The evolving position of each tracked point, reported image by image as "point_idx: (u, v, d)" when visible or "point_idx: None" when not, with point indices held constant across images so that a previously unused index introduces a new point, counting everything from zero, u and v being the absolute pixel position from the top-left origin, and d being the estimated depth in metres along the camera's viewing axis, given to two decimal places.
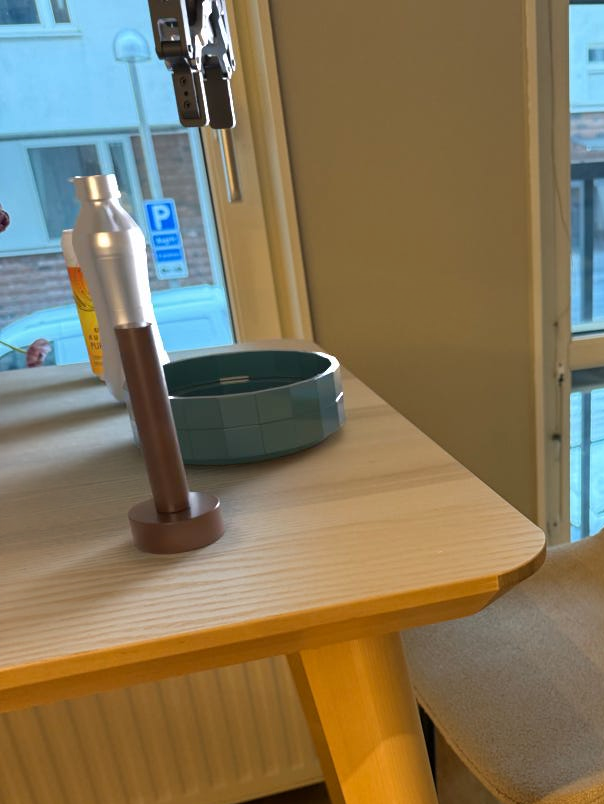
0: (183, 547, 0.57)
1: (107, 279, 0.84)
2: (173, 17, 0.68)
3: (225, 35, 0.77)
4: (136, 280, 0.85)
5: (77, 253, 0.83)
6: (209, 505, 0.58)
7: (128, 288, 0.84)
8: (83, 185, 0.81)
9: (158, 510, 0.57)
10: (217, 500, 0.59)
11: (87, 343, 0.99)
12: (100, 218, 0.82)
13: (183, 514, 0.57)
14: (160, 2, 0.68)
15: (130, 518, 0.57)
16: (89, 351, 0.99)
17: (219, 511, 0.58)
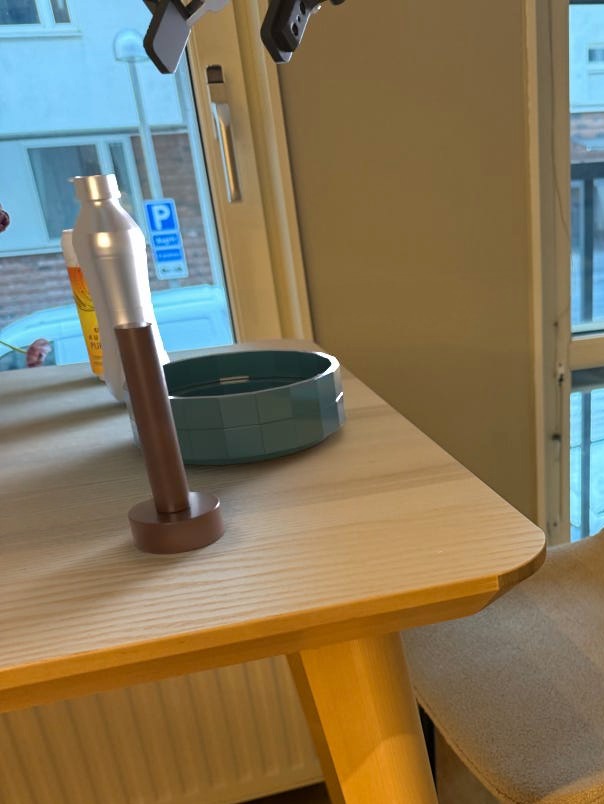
0: (183, 547, 0.57)
1: (107, 279, 0.84)
2: None
3: None
4: (136, 280, 0.85)
5: (77, 253, 0.83)
6: (209, 505, 0.58)
7: (128, 288, 0.84)
8: (83, 185, 0.81)
9: (158, 510, 0.57)
10: (217, 500, 0.59)
11: (87, 343, 0.99)
12: (100, 218, 0.82)
13: (183, 514, 0.57)
14: None
15: (130, 518, 0.57)
16: (89, 351, 0.99)
17: (219, 511, 0.58)
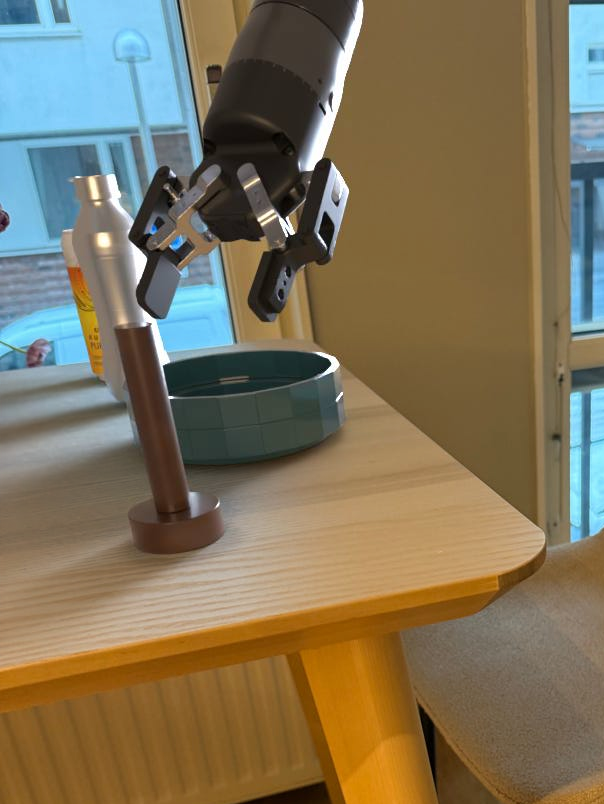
0: (183, 547, 0.57)
1: (107, 279, 0.84)
2: (333, 222, 0.58)
3: None
4: (136, 280, 0.85)
5: (77, 253, 0.83)
6: (209, 505, 0.58)
7: (128, 288, 0.84)
8: (83, 185, 0.81)
9: (158, 510, 0.57)
10: (217, 500, 0.59)
11: (87, 343, 0.99)
12: (100, 218, 0.82)
13: (183, 514, 0.57)
14: (331, 201, 0.57)
15: (130, 518, 0.57)
16: (89, 351, 0.99)
17: (219, 511, 0.58)
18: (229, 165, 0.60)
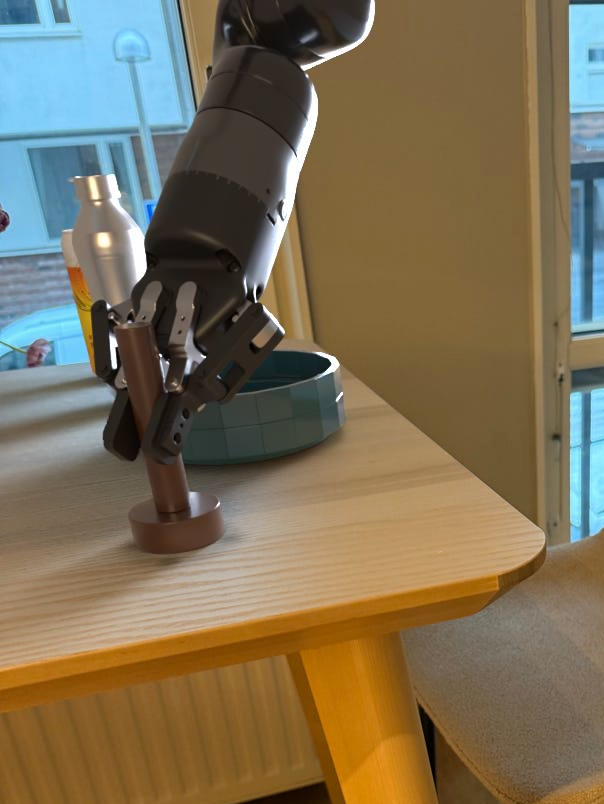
0: (183, 547, 0.57)
1: (107, 279, 0.84)
2: (244, 368, 0.55)
3: None
4: (136, 280, 0.85)
5: (77, 253, 0.83)
6: (209, 505, 0.58)
7: (128, 288, 0.84)
8: (83, 185, 0.81)
9: (158, 510, 0.57)
10: (217, 500, 0.59)
11: (87, 343, 0.99)
12: (100, 218, 0.82)
13: (183, 514, 0.57)
14: (248, 349, 0.54)
15: (130, 518, 0.57)
16: (89, 351, 0.99)
17: (219, 511, 0.58)
18: (172, 279, 0.57)
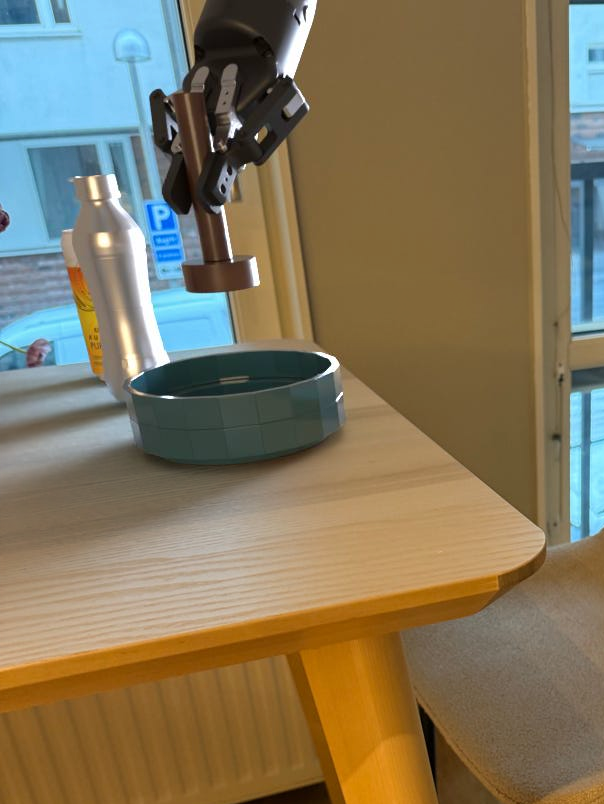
0: (226, 287, 0.69)
1: (107, 279, 0.84)
2: (276, 134, 0.67)
3: None
4: (136, 280, 0.85)
5: (77, 253, 0.83)
6: (247, 258, 0.71)
7: (128, 288, 0.84)
8: (83, 185, 0.81)
9: (205, 260, 0.70)
10: (253, 256, 0.71)
11: (87, 343, 0.99)
12: (100, 218, 0.82)
13: (226, 261, 0.69)
14: (280, 116, 0.67)
15: (183, 264, 0.69)
16: (89, 351, 0.99)
17: (255, 264, 0.71)
18: (216, 68, 0.69)
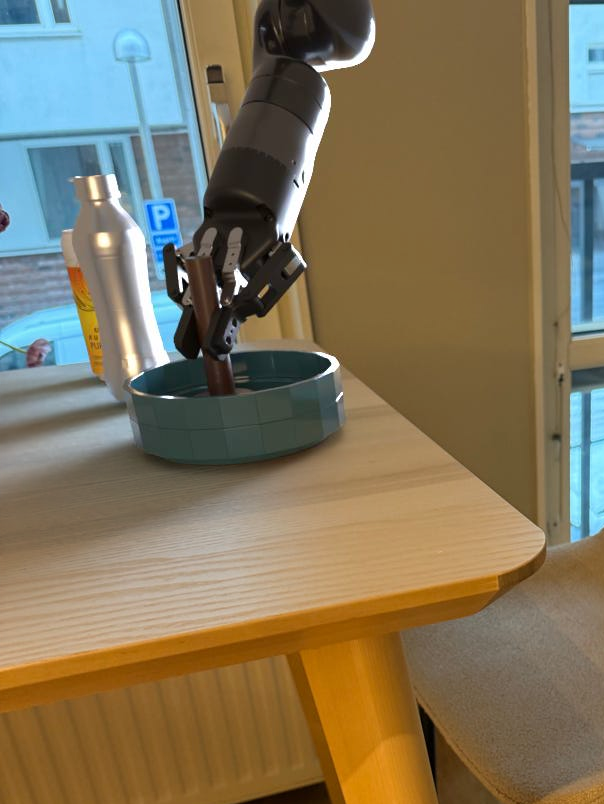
0: None
1: (107, 279, 0.84)
2: (277, 291, 0.75)
3: None
4: (136, 280, 0.85)
5: (77, 253, 0.83)
6: None
7: (128, 288, 0.84)
8: (83, 185, 0.81)
9: None
10: None
11: (87, 343, 0.99)
12: (100, 218, 0.82)
13: None
14: (280, 276, 0.75)
15: None
16: (89, 351, 0.99)
17: None
18: (223, 227, 0.77)
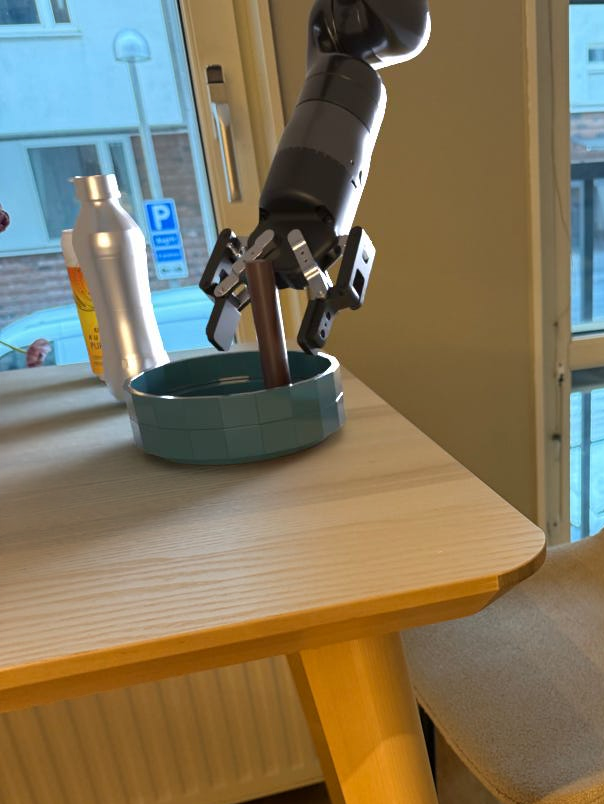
0: None
1: (107, 279, 0.84)
2: (363, 276, 0.73)
3: None
4: (136, 280, 0.85)
5: (77, 253, 0.83)
6: None
7: (128, 288, 0.84)
8: (83, 185, 0.81)
9: None
10: None
11: (87, 343, 0.99)
12: (100, 218, 0.82)
13: None
14: (362, 260, 0.73)
15: None
16: (89, 351, 0.99)
17: None
18: (280, 229, 0.75)
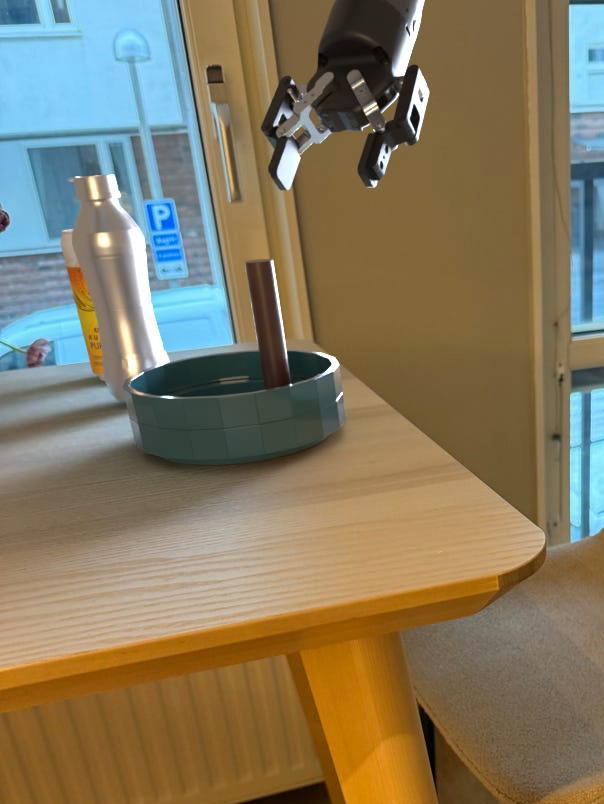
0: None
1: (107, 279, 0.84)
2: (418, 113, 0.77)
3: None
4: (136, 280, 0.85)
5: (77, 253, 0.83)
6: None
7: (128, 288, 0.84)
8: (83, 185, 0.81)
9: None
10: None
11: (87, 343, 0.99)
12: (100, 218, 0.82)
13: None
14: (418, 96, 0.77)
15: None
16: (89, 351, 0.99)
17: None
18: (338, 73, 0.80)
